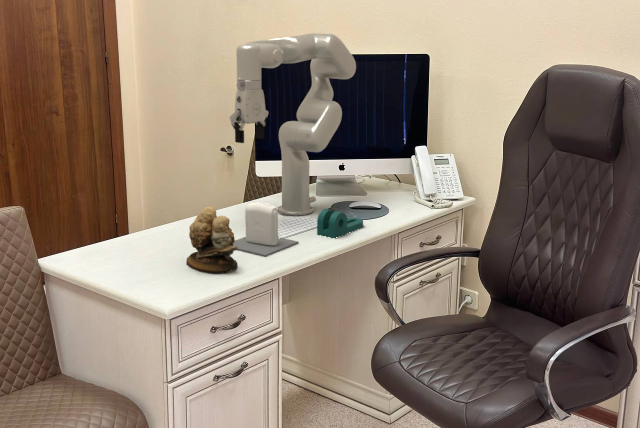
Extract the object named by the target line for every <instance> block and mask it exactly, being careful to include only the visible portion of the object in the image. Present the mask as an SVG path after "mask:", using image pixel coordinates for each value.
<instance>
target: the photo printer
mask: <svg viewBox="0 0 640 428" xmlns="http://www.w3.org/2000/svg"><path fill="white" fill-rule="evenodd" d="M244 213H245V215H244V217H245V218H244V219H245V237H246V241H247V242H252V243H258V244H264V245H271V246H274V245H277V243H278V237H279V222H278V221H279V220H278V219H279V214H278V213H279V212H278V207H276V206H274V205H272V204H270V203H266V202H262V201H257V202H256V201H255V202H251V203H250V202H249V203H248V204H247V205H246V207H245V212H244Z"/></svg>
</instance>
